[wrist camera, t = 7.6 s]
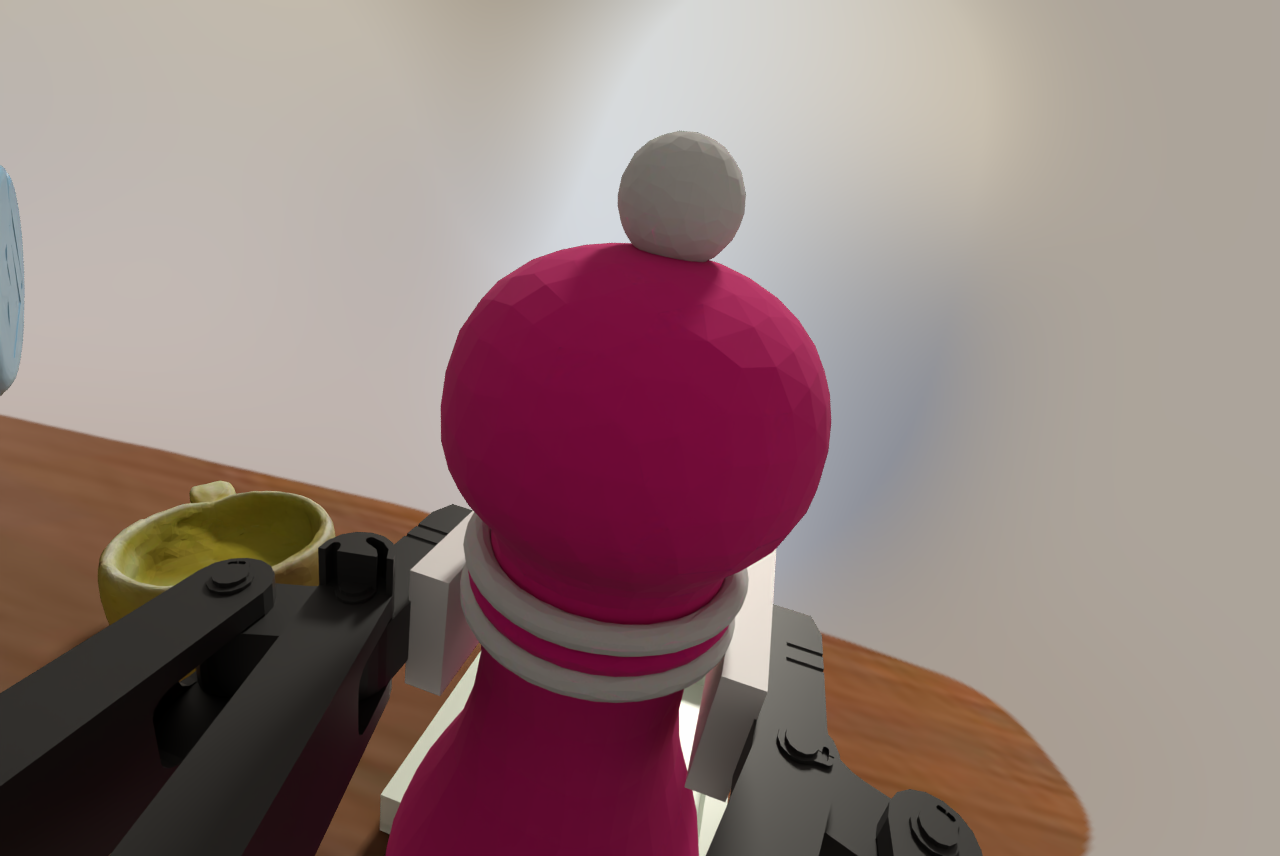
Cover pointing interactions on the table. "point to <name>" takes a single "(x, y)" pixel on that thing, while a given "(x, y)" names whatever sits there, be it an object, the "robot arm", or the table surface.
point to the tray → (394, 791)
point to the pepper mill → (612, 517)
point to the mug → (212, 543)
